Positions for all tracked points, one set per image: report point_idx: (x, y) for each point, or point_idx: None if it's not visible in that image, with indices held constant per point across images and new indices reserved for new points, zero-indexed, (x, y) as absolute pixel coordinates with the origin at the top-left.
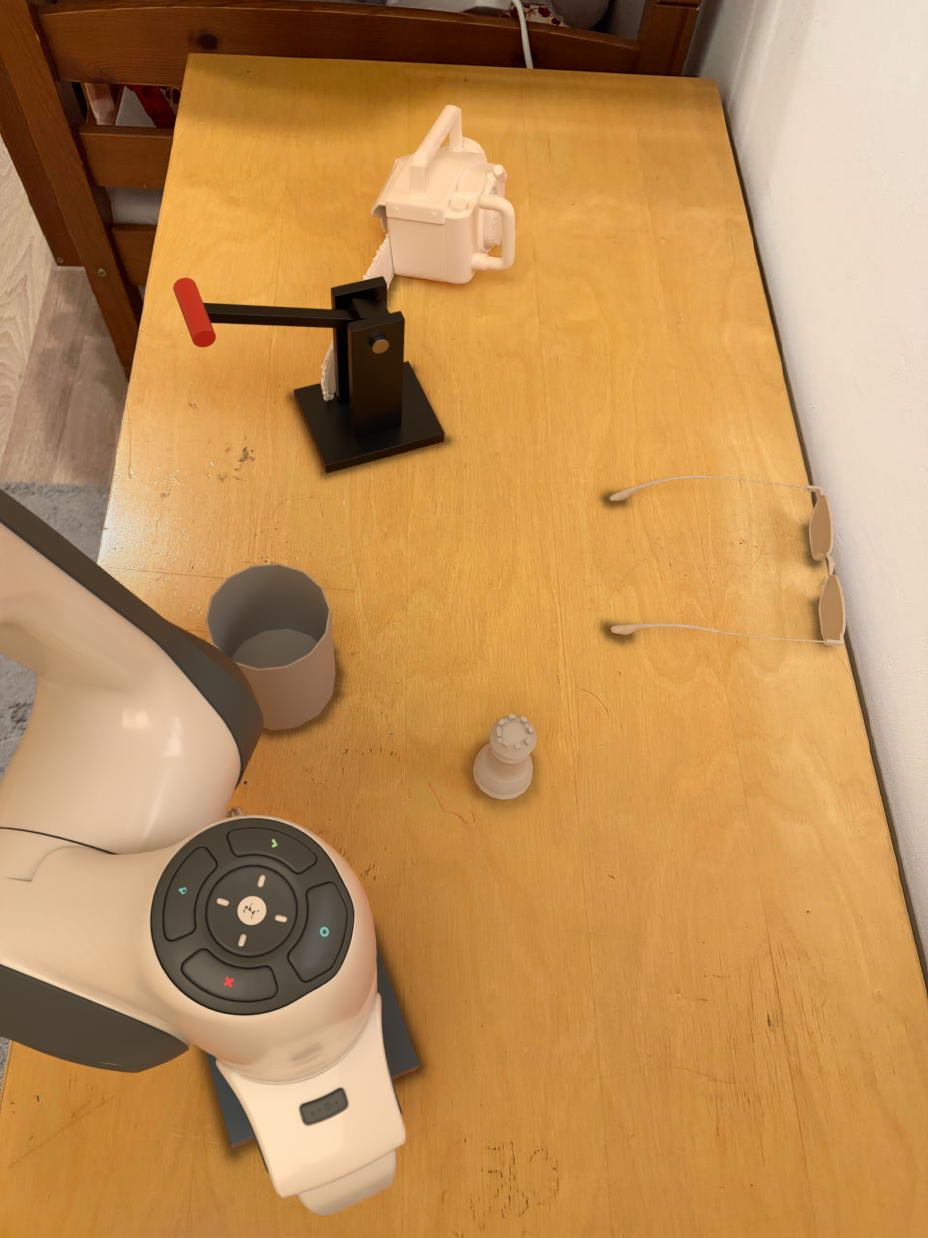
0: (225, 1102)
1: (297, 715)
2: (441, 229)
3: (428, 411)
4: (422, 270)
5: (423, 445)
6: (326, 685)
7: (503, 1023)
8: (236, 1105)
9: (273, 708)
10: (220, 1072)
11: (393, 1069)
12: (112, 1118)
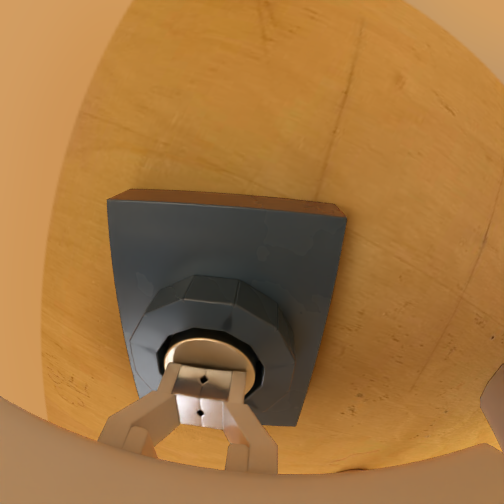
0: (163, 211)
1: (496, 401)
2: None
3: None
4: None
5: None
6: (492, 427)
7: (170, 433)
8: (154, 225)
9: None
10: (209, 219)
11: (142, 391)
12: (237, 43)
